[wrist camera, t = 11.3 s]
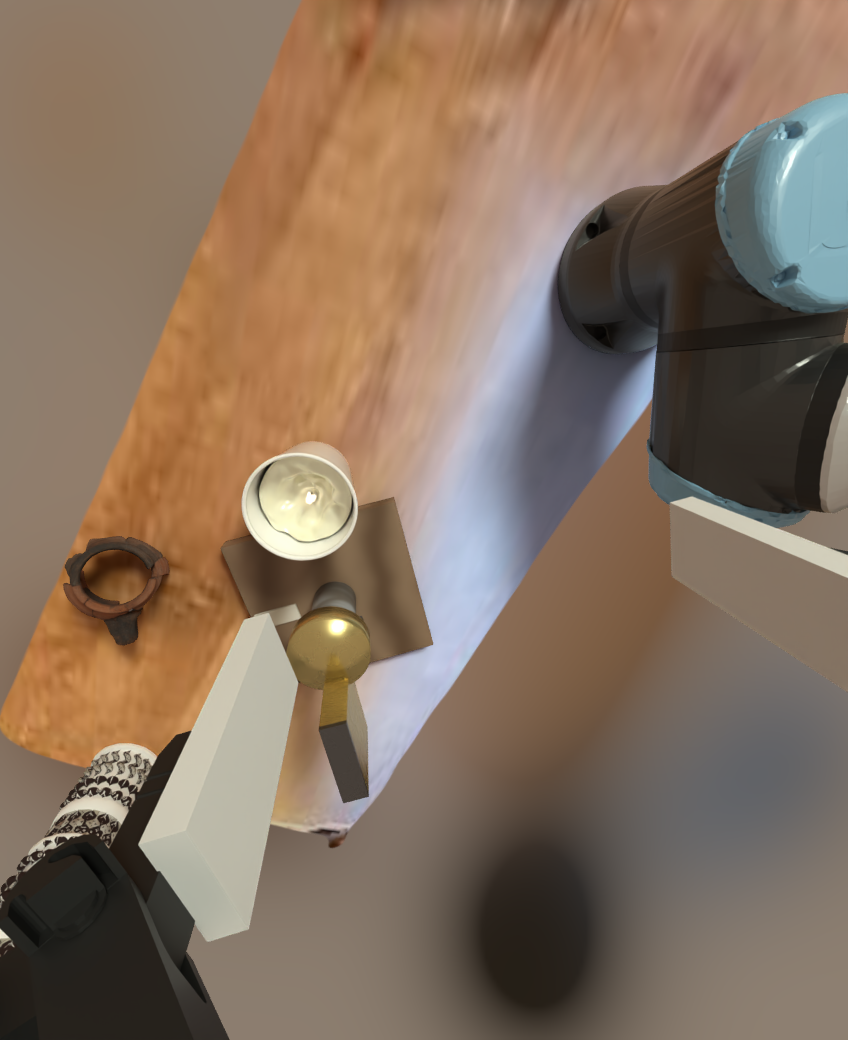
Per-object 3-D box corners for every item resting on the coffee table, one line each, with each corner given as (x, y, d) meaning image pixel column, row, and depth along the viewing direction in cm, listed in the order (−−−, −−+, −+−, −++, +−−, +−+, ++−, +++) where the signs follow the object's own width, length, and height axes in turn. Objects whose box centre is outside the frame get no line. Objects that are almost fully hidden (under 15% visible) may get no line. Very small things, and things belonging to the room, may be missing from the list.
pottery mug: (60, 548, 48) (40, 549, 40) (156, 525, 52) (154, 523, 45) (95, 649, 49) (82, 667, 42) (186, 618, 54) (189, 629, 46)
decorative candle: (100, 798, 58) (-74, 1082, 35) (79, 746, 55) (-127, 1019, 32) (171, 787, 60) (48, 1056, 36) (154, 736, 56) (8, 993, 33)
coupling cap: (280, 616, 42) (261, 672, 34) (360, 598, 43) (360, 649, 35) (321, 738, 48) (313, 810, 40) (391, 720, 48) (398, 789, 40)
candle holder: (334, 532, 51) (326, 578, 40) (254, 494, 48) (222, 531, 37) (374, 460, 49) (377, 487, 37) (293, 416, 46) (271, 431, 35)
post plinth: (393, 497, 50) (401, 525, 41) (431, 635, 57) (444, 687, 48) (225, 541, 49) (194, 581, 40) (284, 677, 56) (269, 738, 47)
